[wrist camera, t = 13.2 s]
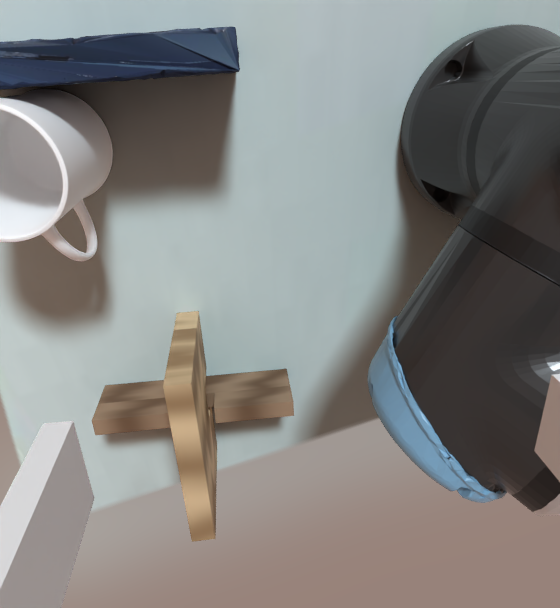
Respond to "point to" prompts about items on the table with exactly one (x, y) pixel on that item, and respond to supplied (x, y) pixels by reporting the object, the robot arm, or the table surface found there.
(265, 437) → the table surface
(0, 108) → the mug
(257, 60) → the table surface
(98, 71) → the vhs cassette tape
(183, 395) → the cross plate
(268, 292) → the table surface
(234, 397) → the standing plate
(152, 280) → the table surface
